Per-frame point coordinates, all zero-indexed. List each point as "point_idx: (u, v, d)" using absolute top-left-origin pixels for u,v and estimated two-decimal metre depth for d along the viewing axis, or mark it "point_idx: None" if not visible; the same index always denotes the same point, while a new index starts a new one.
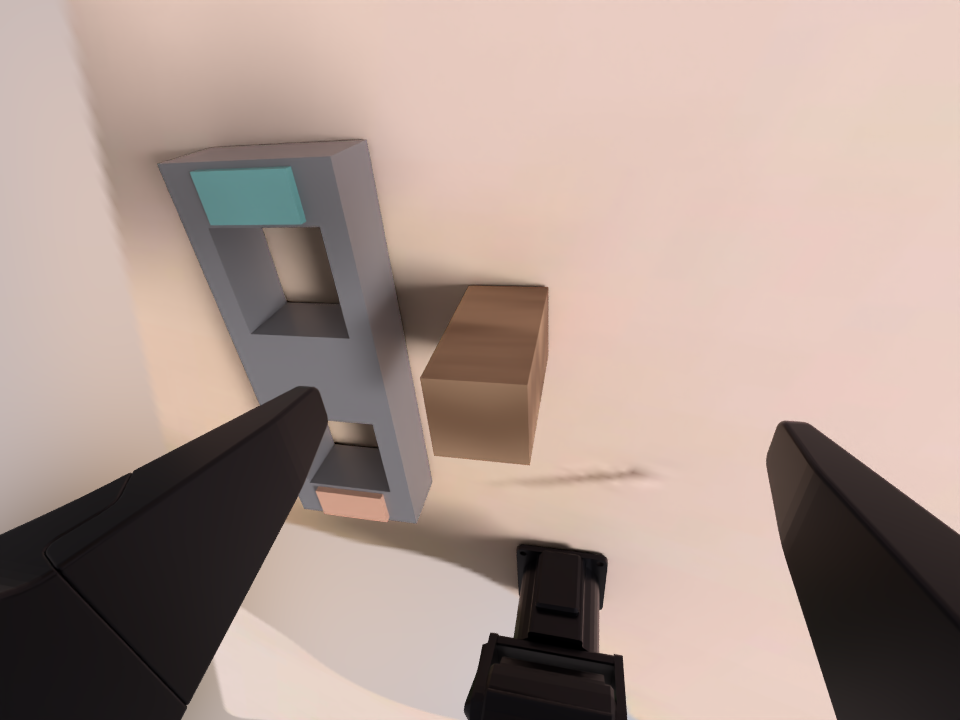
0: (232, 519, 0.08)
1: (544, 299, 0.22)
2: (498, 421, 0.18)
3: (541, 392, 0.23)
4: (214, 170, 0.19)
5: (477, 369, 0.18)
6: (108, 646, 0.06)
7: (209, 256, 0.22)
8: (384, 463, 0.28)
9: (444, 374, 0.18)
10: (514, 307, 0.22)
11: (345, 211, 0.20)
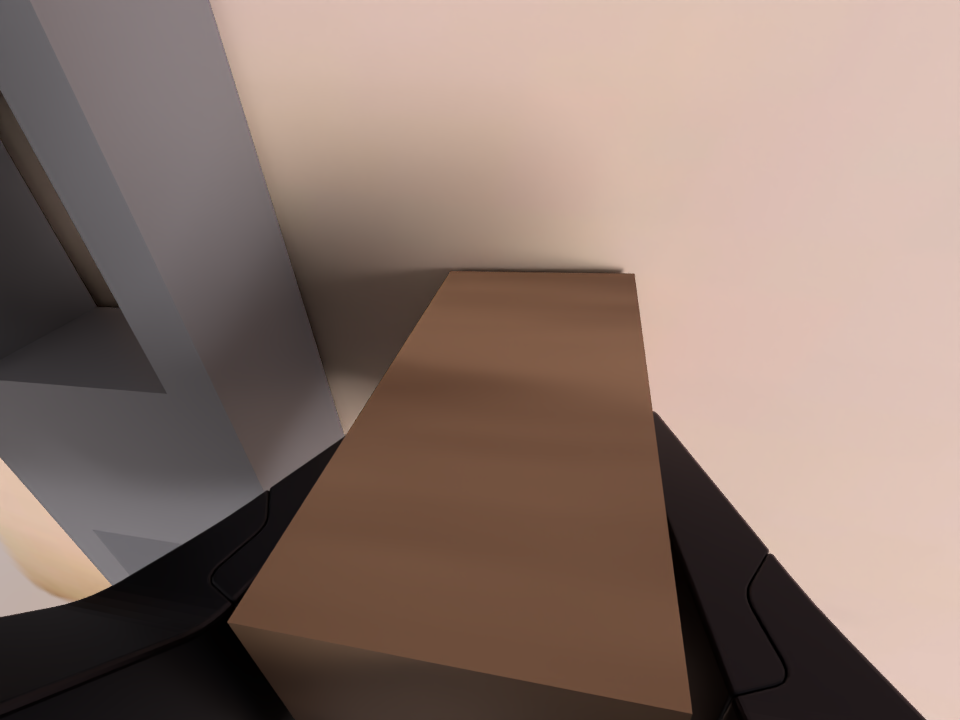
0: None
1: (634, 302, 0.09)
2: None
3: None
4: None
5: (461, 579, 0.05)
6: (268, 682, 0.06)
7: None
8: None
9: (329, 603, 0.04)
10: (561, 323, 0.09)
11: (58, 31, 0.06)
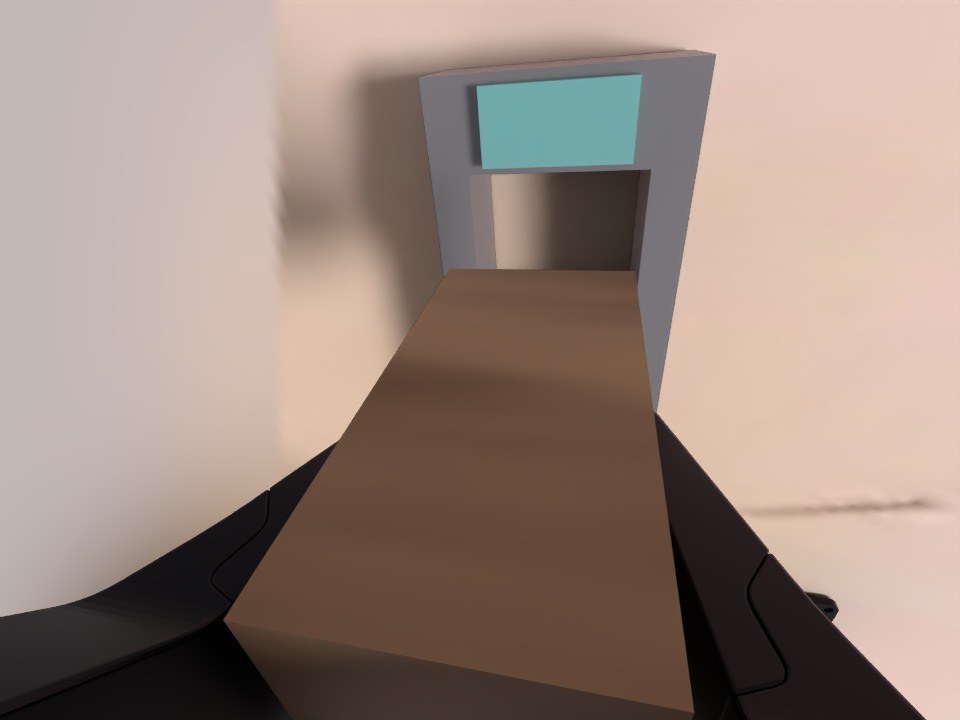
0: None
1: (635, 300, 0.09)
2: None
3: None
4: (514, 83, 0.13)
5: (459, 578, 0.05)
6: None
7: (456, 217, 0.16)
8: None
9: (325, 602, 0.04)
10: (562, 320, 0.08)
11: (699, 145, 0.14)
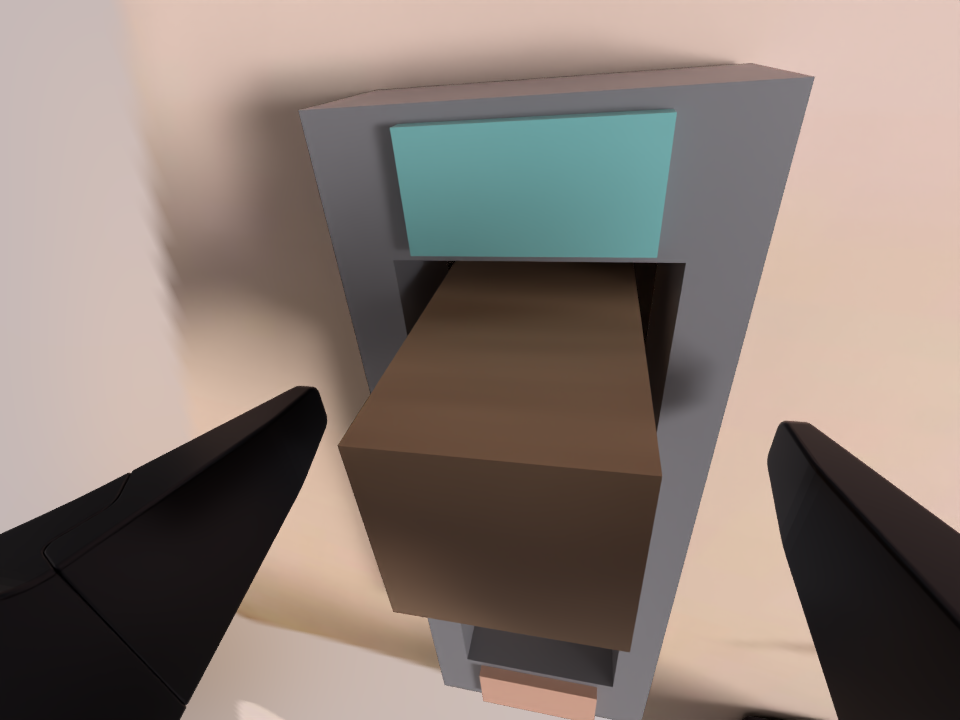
0: (231, 519, 0.08)
1: None
2: (558, 559, 0.07)
3: None
4: (453, 123, 0.08)
5: (501, 419, 0.06)
6: (107, 646, 0.06)
7: (380, 318, 0.10)
8: (621, 654, 0.16)
9: (408, 435, 0.06)
10: (569, 268, 0.10)
11: (769, 227, 0.08)
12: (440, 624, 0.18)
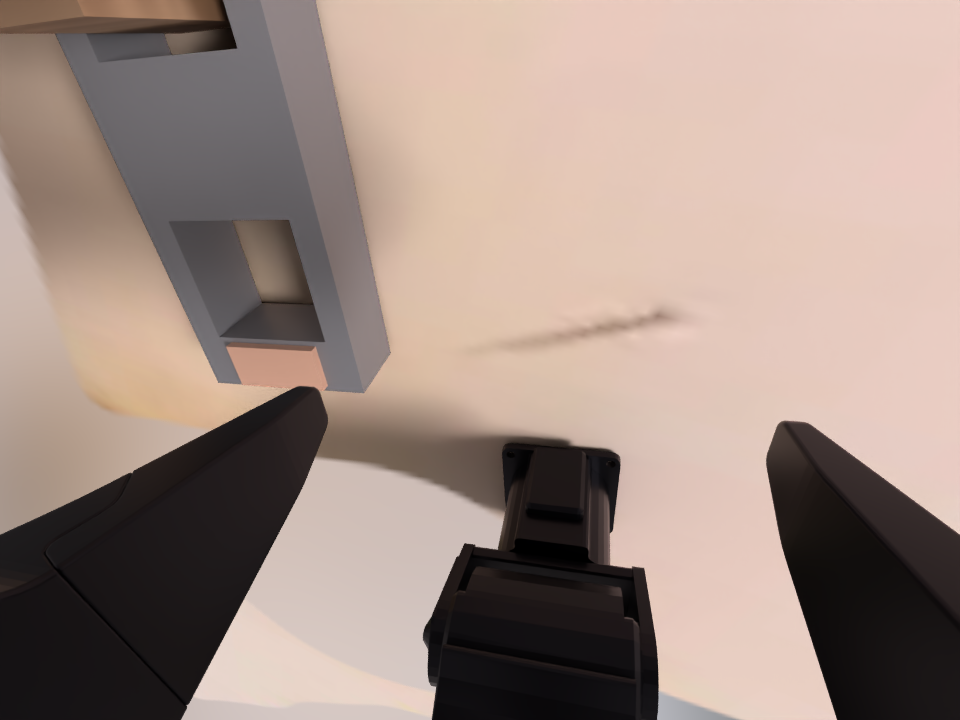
0: (232, 519, 0.08)
1: None
2: None
3: (209, 14, 0.15)
4: None
5: None
6: (108, 646, 0.06)
7: None
8: (312, 291, 0.20)
9: None
10: None
11: None
12: (184, 291, 0.21)
